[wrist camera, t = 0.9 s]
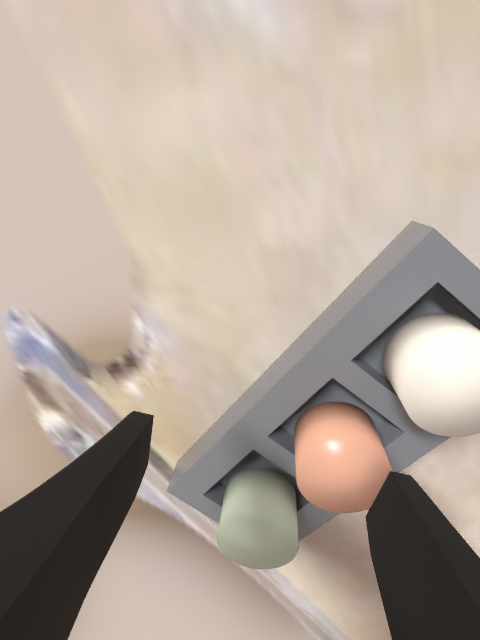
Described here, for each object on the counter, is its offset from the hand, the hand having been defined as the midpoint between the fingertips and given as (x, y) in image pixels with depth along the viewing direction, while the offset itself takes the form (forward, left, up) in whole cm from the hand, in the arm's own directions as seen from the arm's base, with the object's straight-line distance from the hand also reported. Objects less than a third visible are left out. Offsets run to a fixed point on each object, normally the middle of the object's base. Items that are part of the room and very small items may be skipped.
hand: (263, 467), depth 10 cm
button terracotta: (-6, +2, -7) cm, 10 cm away
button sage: (-6, +8, -7) cm, 13 cm away
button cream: (-6, -5, -7) cm, 11 cm away
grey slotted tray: (-6, +2, -10) cm, 11 cm away
